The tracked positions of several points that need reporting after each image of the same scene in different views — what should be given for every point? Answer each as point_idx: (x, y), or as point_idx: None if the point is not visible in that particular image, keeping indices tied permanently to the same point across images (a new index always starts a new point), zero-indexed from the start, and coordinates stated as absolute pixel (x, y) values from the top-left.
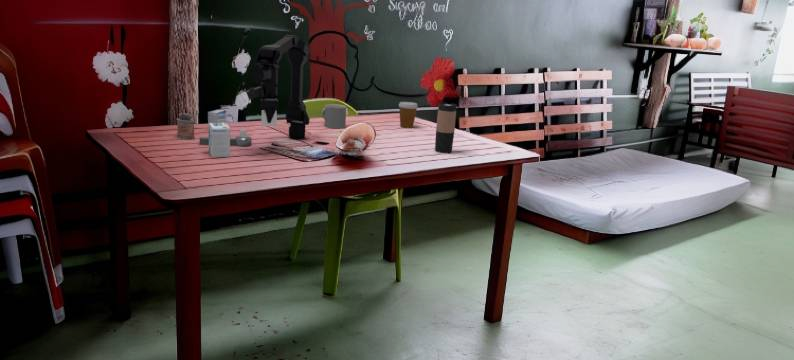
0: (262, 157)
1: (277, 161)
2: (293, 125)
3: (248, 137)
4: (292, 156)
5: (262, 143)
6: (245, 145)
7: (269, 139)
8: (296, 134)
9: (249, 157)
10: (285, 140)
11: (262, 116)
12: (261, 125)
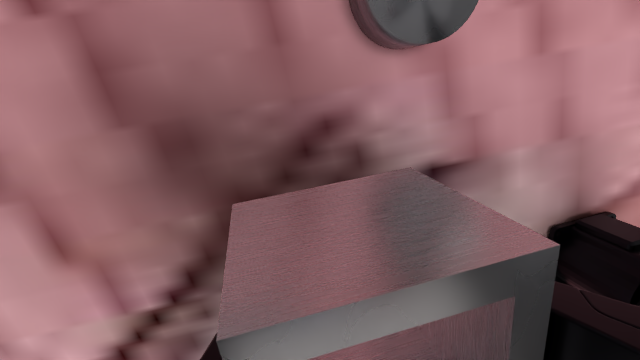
0: (85, 178)
1: (19, 282)
2: (634, 274)
3: (441, 15)
4: (185, 321)
5: (452, 109)
6: (354, 11)
7: (543, 130)
8: (571, 263)
9: (41, 93)
10: (522, 211)
11: (226, 294)
12: (232, 205)
